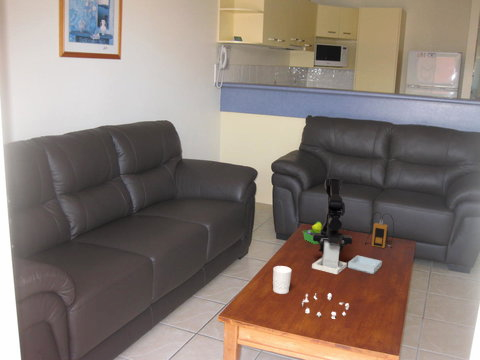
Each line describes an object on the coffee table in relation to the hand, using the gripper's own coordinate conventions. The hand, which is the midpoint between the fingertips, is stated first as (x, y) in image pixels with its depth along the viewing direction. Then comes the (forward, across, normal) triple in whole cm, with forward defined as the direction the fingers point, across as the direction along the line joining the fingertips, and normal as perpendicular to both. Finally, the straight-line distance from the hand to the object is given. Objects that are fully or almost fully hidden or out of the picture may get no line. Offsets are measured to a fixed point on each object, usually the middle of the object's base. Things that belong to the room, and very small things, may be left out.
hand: (330, 254), depth 260 cm
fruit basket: (+7, -6, +40) cm, 41 cm away
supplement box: (+7, 0, 0) cm, 7 cm away
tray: (+6, +18, +5) cm, 20 cm away
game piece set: (+7, -5, -48) cm, 48 cm away
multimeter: (+7, +31, +44) cm, 54 cm away
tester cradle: (+6, 0, 0) cm, 6 cm away
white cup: (+7, -23, -34) cm, 42 cm away
